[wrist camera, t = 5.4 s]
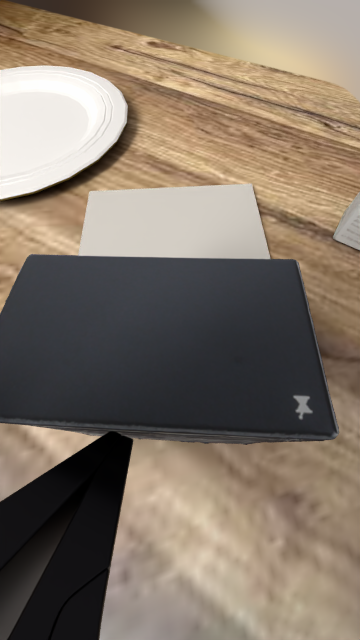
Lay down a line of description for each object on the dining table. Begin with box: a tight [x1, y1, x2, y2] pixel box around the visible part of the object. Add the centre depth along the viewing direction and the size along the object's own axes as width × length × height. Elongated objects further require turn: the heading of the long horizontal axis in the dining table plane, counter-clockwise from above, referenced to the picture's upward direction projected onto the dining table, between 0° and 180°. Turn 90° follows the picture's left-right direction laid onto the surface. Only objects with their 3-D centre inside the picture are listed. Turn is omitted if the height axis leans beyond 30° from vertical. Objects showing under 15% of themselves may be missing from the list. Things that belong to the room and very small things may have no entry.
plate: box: [0, 66, 128, 201], centre depth 30 cm, size 29×29×2 cm
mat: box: [78, 184, 271, 259], centre depth 22 cm, size 16×17×1 cm
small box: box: [0, 254, 339, 445], centre depth 12 cm, size 11×6×10 cm, turn 87°
